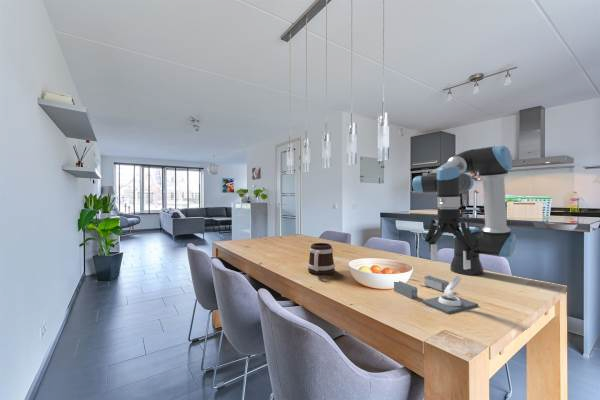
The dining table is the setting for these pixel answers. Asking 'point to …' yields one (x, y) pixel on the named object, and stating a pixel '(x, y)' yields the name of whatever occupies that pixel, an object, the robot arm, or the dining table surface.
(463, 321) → the dining table surface
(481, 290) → the dining table surface
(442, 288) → the grey blocks
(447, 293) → the hook
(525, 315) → the dining table surface
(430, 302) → the mat
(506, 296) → the dining table surface
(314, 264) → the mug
